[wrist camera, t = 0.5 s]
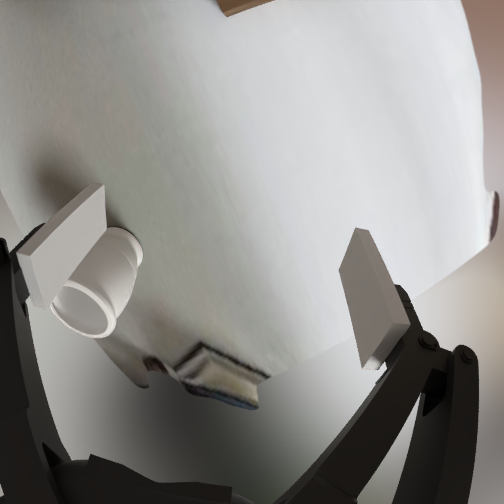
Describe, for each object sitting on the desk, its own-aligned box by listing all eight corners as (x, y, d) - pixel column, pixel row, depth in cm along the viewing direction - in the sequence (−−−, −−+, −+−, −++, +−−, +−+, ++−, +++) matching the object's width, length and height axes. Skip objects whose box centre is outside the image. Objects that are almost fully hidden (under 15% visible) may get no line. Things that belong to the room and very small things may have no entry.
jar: (91, 262, 50) (50, 321, 37) (93, 212, 44) (42, 268, 32) (145, 281, 51) (113, 348, 39) (154, 232, 46) (115, 298, 33)
